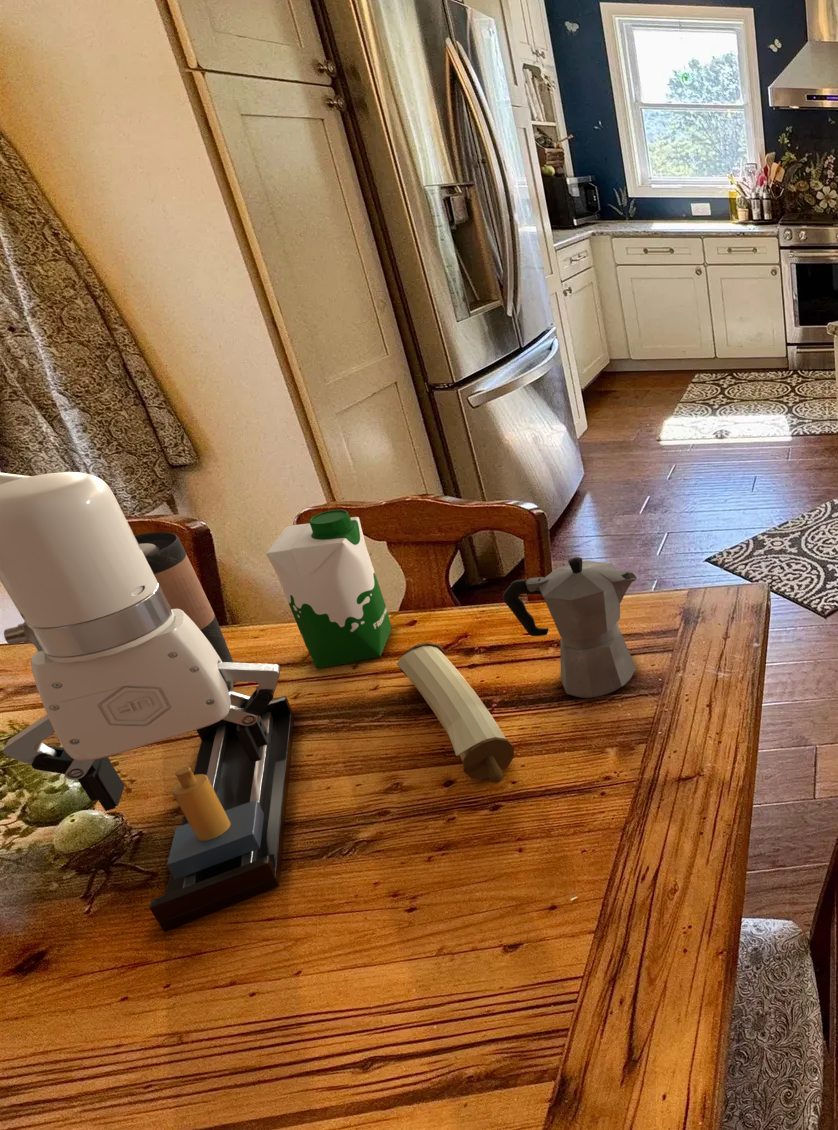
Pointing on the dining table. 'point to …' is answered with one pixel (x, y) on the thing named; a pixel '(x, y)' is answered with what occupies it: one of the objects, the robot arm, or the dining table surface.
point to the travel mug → (182, 585)
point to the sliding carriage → (210, 827)
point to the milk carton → (332, 588)
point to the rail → (233, 788)
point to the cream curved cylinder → (458, 712)
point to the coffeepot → (582, 623)
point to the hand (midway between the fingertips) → (189, 774)
